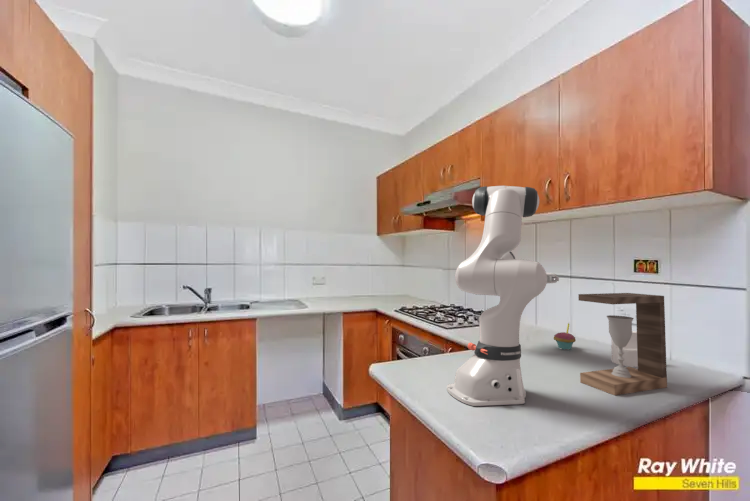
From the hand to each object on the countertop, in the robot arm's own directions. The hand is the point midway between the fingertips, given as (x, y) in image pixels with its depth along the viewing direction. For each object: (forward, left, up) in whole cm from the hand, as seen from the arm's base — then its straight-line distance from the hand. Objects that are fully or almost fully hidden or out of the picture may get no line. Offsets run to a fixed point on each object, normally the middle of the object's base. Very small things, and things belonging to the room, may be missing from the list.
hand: (547, 279), depth 128 cm
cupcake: (+24, +15, -32) cm, 43 cm away
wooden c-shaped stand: (+3, -26, -32) cm, 41 cm away
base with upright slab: (+28, -9, -32) cm, 44 cm away
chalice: (+3, -25, -29) cm, 39 cm away
